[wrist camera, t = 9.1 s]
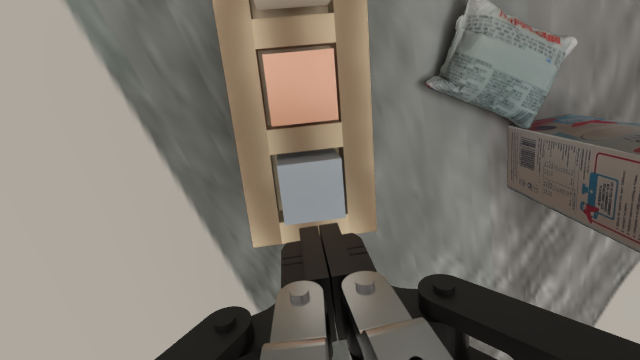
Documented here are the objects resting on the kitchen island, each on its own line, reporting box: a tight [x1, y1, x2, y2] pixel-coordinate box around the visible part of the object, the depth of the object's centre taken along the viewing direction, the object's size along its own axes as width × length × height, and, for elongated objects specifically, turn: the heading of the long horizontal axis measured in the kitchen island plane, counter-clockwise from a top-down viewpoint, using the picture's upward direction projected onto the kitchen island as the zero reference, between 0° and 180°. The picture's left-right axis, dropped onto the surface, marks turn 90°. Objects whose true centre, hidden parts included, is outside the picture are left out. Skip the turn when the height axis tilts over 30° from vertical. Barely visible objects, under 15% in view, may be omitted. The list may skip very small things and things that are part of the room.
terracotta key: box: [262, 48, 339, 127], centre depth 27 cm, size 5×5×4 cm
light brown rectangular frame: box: [212, 0, 377, 248], centre depth 29 cm, size 11×26×5 cm, turn 5°
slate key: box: [277, 148, 346, 225], centre depth 29 cm, size 5×5×4 cm
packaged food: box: [426, 0, 577, 129], centre depth 30 cm, size 9×12×5 cm
